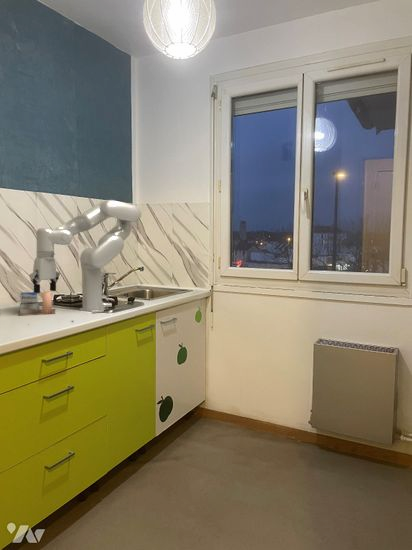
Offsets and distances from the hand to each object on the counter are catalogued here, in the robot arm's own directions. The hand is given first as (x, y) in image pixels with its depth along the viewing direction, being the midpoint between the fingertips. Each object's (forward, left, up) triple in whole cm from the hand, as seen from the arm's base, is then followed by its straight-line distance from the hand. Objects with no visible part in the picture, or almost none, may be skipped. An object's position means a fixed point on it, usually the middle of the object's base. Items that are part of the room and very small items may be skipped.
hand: (45, 291), depth 191 cm
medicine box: (+8, -22, -12) cm, 26 cm away
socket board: (+4, -4, -11) cm, 13 cm away
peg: (-1, 0, -10) cm, 10 cm away
